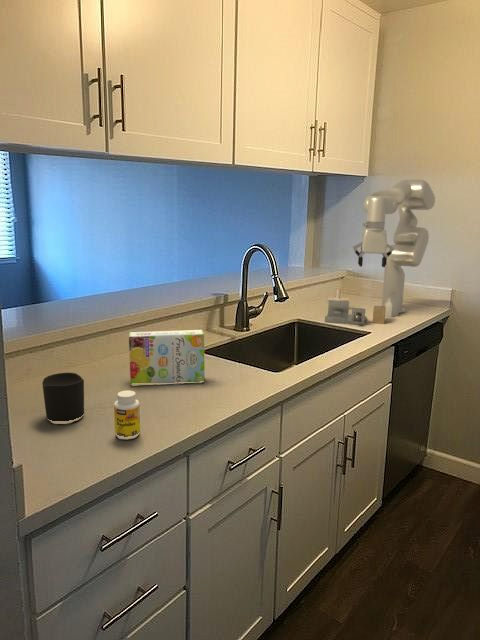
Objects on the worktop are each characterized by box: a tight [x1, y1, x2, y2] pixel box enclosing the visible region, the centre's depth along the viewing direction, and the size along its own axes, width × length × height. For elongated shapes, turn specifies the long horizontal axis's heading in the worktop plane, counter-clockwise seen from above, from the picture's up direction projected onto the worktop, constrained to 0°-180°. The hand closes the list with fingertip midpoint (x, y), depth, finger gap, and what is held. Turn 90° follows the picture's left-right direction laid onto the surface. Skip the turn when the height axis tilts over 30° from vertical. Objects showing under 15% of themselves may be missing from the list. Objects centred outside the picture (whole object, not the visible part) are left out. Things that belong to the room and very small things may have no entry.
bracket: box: [324, 300, 367, 326], centre depth 232 cm, size 12×17×8 cm
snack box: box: [128, 329, 205, 385], centre depth 152 cm, size 21×6×15 cm, turn 100°
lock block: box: [371, 305, 386, 325], centre depth 231 cm, size 7×5×6 cm
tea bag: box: [385, 294, 399, 319], centre depth 243 cm, size 4×7×10 cm, turn 136°
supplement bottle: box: [113, 390, 141, 437], centre depth 119 cm, size 6×6×10 cm
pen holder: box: [42, 372, 85, 421], centre depth 127 cm, size 9×9×10 cm
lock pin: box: [354, 312, 362, 321], centre depth 228 cm, size 14×4×4 cm, turn 163°
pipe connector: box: [326, 289, 350, 303], centre depth 253 cm, size 10×10×10 cm
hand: (371, 266), depth 227 cm, fingers open, 9 cm apart
